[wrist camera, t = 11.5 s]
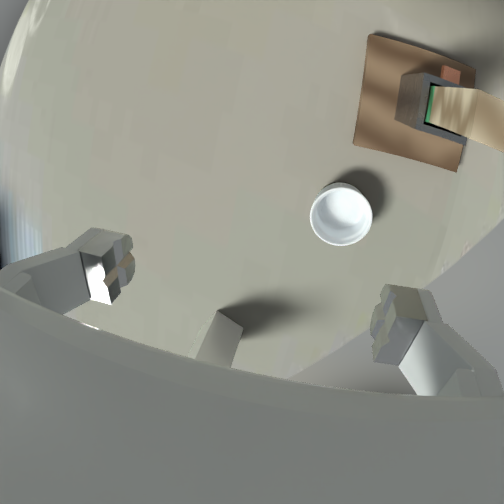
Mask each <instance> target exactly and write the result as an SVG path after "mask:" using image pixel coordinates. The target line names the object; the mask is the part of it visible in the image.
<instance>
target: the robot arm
mask: <svg viewBox="0 0 504 504" xmlns="http://www.w3.org/2000/svg"><path fill="white" fill-rule="evenodd" d="M132 248H133V243H132V238H131V237H130V236H129V235H127V234H123V233H118V232H114V231H109V230H105V229H100V228H90V229H89V230H88V231H86V232H85V233H84V234H82V235H81V236H80V237H78V238H77V239H76V240H75V241H73V242H72V243H71V244H69V245H68V246H67V247H66V248H63V247H61V248H58V249H55V250H51V251H48V252H45V253H42V254H39V255H35V256H32V257H29V258H26V259H23V260H20V261H17V262H14V263H11V264H8V265H6V266H5V267H4V268H2V269H1V270H0V504H504V391H503V388H502V385H501V382H500V380H499V377H498V374H497V371H496V369H495V368H494V367H493V366H492V365H491V364H490V363H489V362H488V361H487V360H486V359H485V358H484V357H483V356H481V355H480V354H479V353H478V352H477V351H476V350H475V349H474V348H473V347H472V346H471V345H470V344H469V343H468V342H467V341H465V340H464V339H463V338H462V337H461V336H460V335H459V334H458V333H457V332H456V331H455V330H454V329H452V328H451V327H450V326H449V325H448V324H444V323H443V321H442V318H441V315H440V313H439V310H438V308H437V305H436V303H435V300H434V298H433V295H432V293H431V292H430V291H429V290H424V289H417V288H410V287H403V286H397V285H390V284H385V285H384V287H383V289H382V291H381V294H380V297H381V303H379V304H378V305H377V306H375V309H374V312H373V314H372V319H371V324H370V331H371V336H372V337H373V338H374V339H375V341H374V343H373V345H372V351H373V360H374V362H378V363H384V364H391V365H398V366H399V368H400V370H401V371H402V373H403V374H404V376H405V377H406V378H407V380H408V381H409V383H410V384H411V386H412V387H413V389H414V390H415V392H416V393H417V395H405V394H389V393H379V392H368V391H360V390H352V389H343V388H336V387H329V386H322V385H316V384H310V383H304V382H297V381H292V380H286V379H281V378H276V377H271V376H266V375H261V374H256V373H251V372H247V371H242V370H238V369H233V368H229V367H225V366H221V365H216V364H212V363H208V362H204V361H201V360H197V359H193V358H189V357H186V356H182V355H178V354H175V353H171V352H168V351H165V350H161V349H158V348H154V347H151V346H148V345H145V344H142V343H138V342H135V341H132V340H129V339H126V338H123V337H120V336H117V335H115V334H112V333H109V332H106V331H103V330H100V329H98V328H95V327H92V326H90V325H87V324H84V323H82V322H79V321H77V320H74V319H72V318H69V317H67V316H64V315H63V314H65V313H67V312H69V311H71V310H72V309H74V308H76V307H78V306H80V305H82V304H84V303H86V302H87V301H89V300H91V299H93V300H97V301H100V302H104V303H107V304H112V303H113V301H114V300H115V299H116V298H117V297H118V295H119V294H120V293H121V289H120V288H121V287H123V286H126V285H128V284H129V282H130V281H131V280H132V277H133V275H134V272H135V259H134V257H133V256H132V254H131V253H130V251H131V250H132Z"/></svg>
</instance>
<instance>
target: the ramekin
mask: <svg viewBox="0 0 504 504" xmlns="http://www.w3.org/2000/svg"><path fill="white" fill-rule="evenodd" d="M372 218H373V215H372V209H371V206H370V204H369V202H368V200H367V199H366V198H365V197H364V196H363V195H362V193H361V192H360V191H359V190H358V189H357V188H356V187H354V186H352V185H350V184H347V183H333V184H331V185H328V186H326V187H325V188H323V189H322V190H321V191H320V192H319V193H318V195H317V196H316V199H315V201H314V203H313V205H312V208H311V211H310V222H311V226H312V228H313V230H314V232H315V233H316V235H317V236H318V237H319V238H321V239H322V240H323V241H325V242H327V243H329V244H332V245H336V246H346V245H350V244H353V243H355V242H358V241H359V240H361V239H362V238H363V237H364V236H365V235H366V234H367V233H368V231H369V229H370V227H371V225H372Z"/></svg>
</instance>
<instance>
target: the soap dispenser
mask: <svg viewBox="0 0 504 504" xmlns="http://www.w3.org/2000/svg"><path fill="white" fill-rule="evenodd" d="M242 331H243V327H241V326H240V325H238V324H237V323H235V322H234V321H232V320H231V319H229V318H228V317H226V316H225V315H223V314H222V313H220V312H219V311H216V312H215V313H214V314H213V315H212V316H211V317H210V318H209V319H208V320H207V321H206V322H205V323H204V324H203V326H202V327H201V329H200V331H199V333H198V335H197V337H196V339H195V341H194V343H193V345H192V347H191V350H190V352H189V354H188V356H187V357H189V358H193V359H197V360H201V361H204V362H208V363H212V364H216V365H221V366H225V367H229V368H231V365H232V362H233V359H234V356H235V353H236V350H237V347H238V344H239V341H240V338H241V335H242Z"/></svg>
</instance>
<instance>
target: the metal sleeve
mask: <svg viewBox="0 0 504 504" xmlns="http://www.w3.org/2000/svg"><path fill="white" fill-rule="evenodd" d="M460 72H461V71H458V70H456V69H453V68H451V67H448V66H445V65H443V66H442V69H441V77H440V78H439V77H436V76H433V75H430V74H427V73H415V74H407V75H401V79H400V86H399V93H398V100H397V106H396V112H395V117H394V120H396V121H398V122H401V123H403V124H405V125H407V126H409V127H411V128H413V129H416V130H419V131H423V132H426V133H429V134H432V135H436V136H439V137H442V138H445V139H448V140H451V141H454V142H456V143H459V144H462V145H466V141H467V137H465V136H462V135H460V134H458V133H455V132H453V131H450V130H448V129H445V128H443V127H440V126H438V125H435V124H432V125H431V124H428V123H425V122H424V118H425V112H426V106H427V100H428V94H429V87H430V86H437V87H456V88H465V87H463V86H460V85H459V80H460Z"/></svg>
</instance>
